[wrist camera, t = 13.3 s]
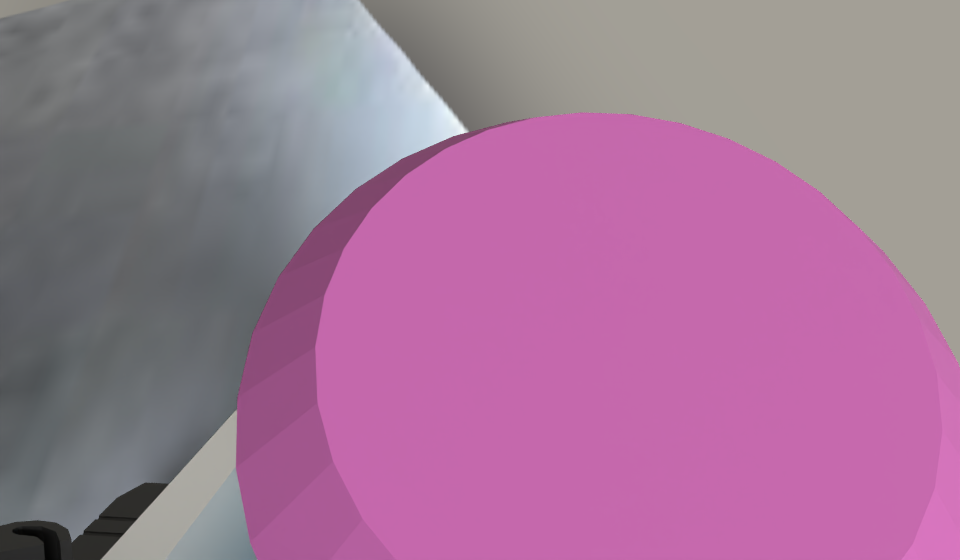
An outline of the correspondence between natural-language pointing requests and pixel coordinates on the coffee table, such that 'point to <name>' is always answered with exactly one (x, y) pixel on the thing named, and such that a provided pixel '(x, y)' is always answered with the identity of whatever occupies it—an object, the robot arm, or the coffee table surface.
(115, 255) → the coffee table surface
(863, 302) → the perfume bottle
